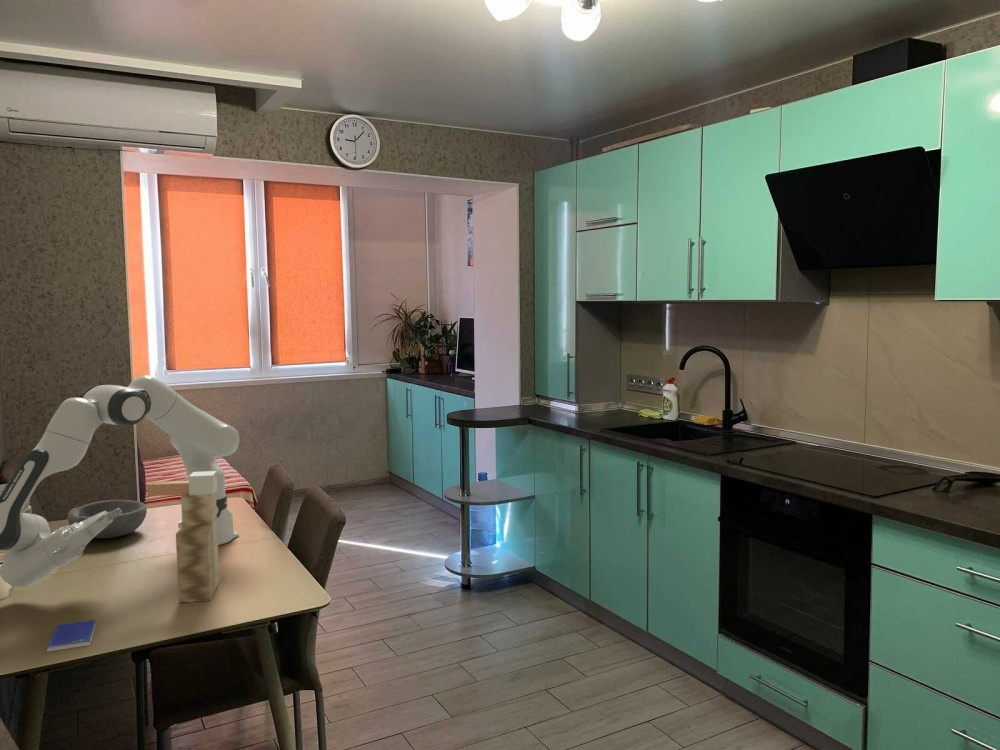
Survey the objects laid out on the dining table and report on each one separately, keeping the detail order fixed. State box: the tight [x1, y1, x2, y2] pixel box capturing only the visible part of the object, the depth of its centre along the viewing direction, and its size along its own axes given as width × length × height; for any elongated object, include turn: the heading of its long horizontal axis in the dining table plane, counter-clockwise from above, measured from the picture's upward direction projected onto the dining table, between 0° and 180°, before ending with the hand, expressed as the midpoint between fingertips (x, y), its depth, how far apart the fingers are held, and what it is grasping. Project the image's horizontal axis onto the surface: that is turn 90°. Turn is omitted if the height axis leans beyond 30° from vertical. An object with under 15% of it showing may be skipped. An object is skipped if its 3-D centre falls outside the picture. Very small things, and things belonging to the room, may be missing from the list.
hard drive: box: [46, 619, 97, 652], centre depth 170 cm, size 2×8×12 cm
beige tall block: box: [175, 492, 220, 604], centre depth 195 cm, size 8×13×26 cm, turn 11°
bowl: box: [66, 499, 148, 539], centre depth 246 cm, size 23×22×10 cm
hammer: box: [146, 471, 217, 497], centre depth 196 cm, size 16×6×5 cm, turn 101°
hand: (114, 515), depth 194 cm, fingers open, 8 cm apart
